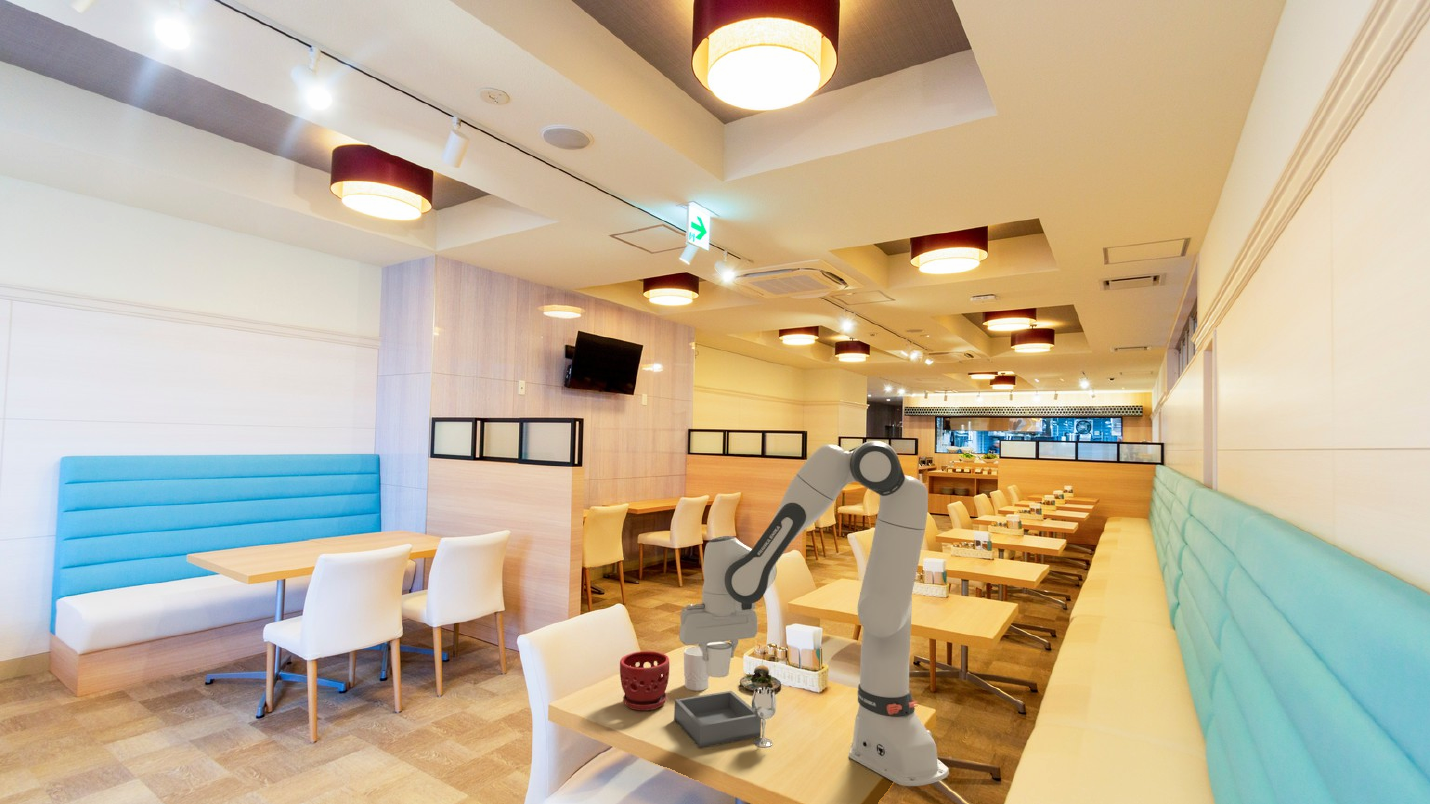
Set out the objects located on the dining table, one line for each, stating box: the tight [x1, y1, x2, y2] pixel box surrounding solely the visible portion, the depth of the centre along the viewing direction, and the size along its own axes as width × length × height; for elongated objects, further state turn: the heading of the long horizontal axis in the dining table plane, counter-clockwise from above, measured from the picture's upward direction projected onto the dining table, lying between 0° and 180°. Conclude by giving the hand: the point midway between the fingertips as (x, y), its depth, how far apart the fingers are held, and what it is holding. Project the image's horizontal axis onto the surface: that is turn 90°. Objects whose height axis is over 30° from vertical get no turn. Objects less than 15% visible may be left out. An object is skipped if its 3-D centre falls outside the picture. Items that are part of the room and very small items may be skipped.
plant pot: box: [619, 650, 670, 711], centre depth 173 cm, size 13×13×12 cm
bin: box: [673, 690, 762, 749], centre depth 160 cm, size 16×16×5 cm
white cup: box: [683, 646, 710, 692], centre depth 186 cm, size 8×8×10 cm
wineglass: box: [751, 687, 777, 748], centre depth 153 cm, size 6×6×12 cm
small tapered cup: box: [705, 641, 732, 678], centre depth 161 cm, size 7×7×7 cm
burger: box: [739, 659, 782, 692], centre depth 187 cm, size 12×12×8 cm
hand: (718, 658), depth 160 cm, fingers closed on small tapered cup, 5 cm apart
